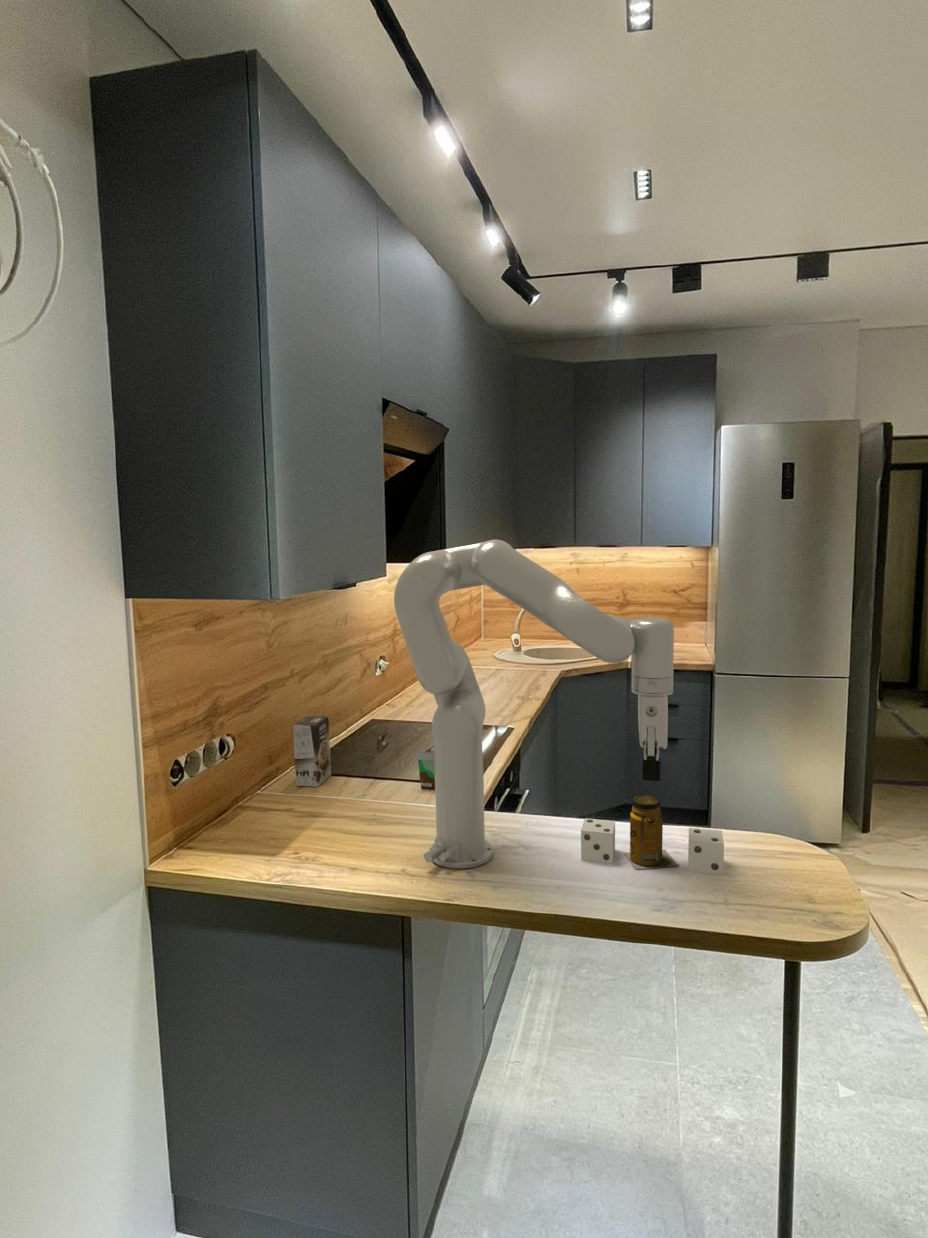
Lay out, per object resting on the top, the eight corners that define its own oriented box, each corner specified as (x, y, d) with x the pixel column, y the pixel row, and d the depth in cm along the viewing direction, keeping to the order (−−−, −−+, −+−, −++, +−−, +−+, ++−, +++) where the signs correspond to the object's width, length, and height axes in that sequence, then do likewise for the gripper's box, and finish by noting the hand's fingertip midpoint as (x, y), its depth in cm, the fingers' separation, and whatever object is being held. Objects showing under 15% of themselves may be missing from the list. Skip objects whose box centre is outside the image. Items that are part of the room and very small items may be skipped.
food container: (436, 795, 175) (435, 755, 174) (417, 790, 179) (415, 751, 178) (466, 780, 185) (465, 742, 184) (448, 776, 189) (447, 738, 187)
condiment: (623, 853, 142) (623, 794, 140) (665, 850, 143) (665, 792, 141) (635, 870, 135) (635, 809, 133) (679, 867, 135) (680, 806, 134)
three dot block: (612, 863, 138) (612, 833, 137) (581, 860, 139) (580, 830, 139) (615, 850, 144) (615, 820, 143) (584, 847, 145) (584, 818, 144)
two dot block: (723, 875, 132) (724, 843, 131) (689, 872, 134) (689, 840, 133) (721, 860, 138) (721, 830, 137) (688, 857, 140) (688, 827, 139)
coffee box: (318, 787, 182) (315, 725, 180) (295, 786, 184) (291, 724, 182) (332, 775, 191) (329, 715, 189) (309, 774, 193) (306, 715, 191)
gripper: (673, 694, 126) (672, 795, 129) (673, 676, 140) (671, 768, 143) (629, 692, 128) (628, 791, 131) (633, 675, 143) (633, 765, 145)
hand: (651, 779), depth 137 cm, fingers closed
